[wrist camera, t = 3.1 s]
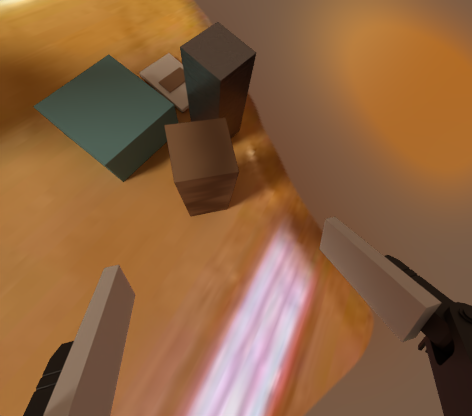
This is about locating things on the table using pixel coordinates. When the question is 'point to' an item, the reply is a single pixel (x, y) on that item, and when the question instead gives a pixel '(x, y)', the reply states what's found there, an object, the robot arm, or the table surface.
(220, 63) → the grey metal block
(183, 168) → the walnut block
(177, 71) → the card
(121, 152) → the teal pedestal
